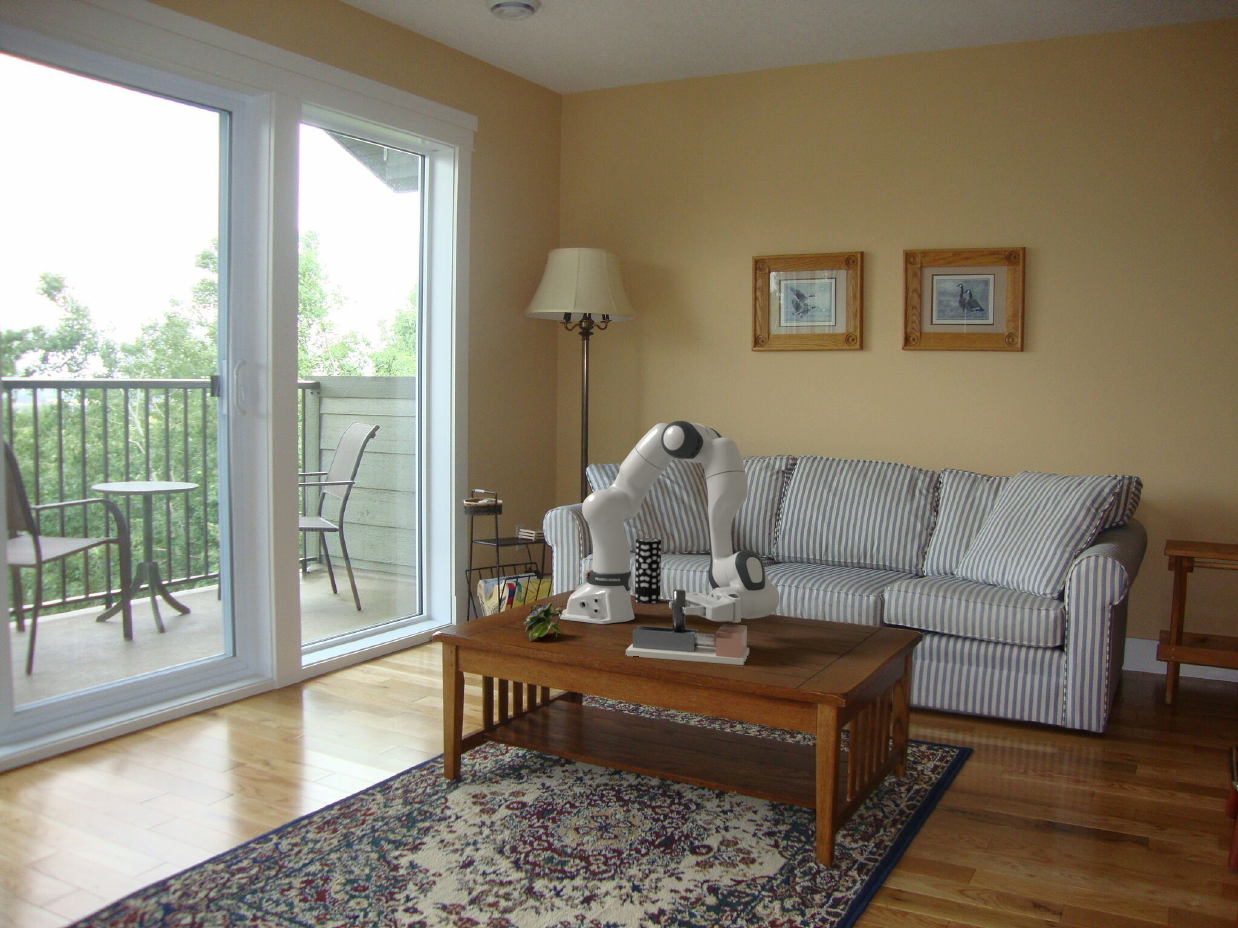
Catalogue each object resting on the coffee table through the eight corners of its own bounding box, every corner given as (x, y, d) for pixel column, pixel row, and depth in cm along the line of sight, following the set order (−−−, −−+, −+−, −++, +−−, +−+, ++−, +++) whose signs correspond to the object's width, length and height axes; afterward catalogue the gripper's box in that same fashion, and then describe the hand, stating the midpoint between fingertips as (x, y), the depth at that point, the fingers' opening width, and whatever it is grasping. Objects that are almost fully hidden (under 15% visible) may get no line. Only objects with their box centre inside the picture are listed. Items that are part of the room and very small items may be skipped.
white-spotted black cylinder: (642, 604, 322) (643, 542, 320) (630, 599, 329) (631, 538, 328) (665, 602, 326) (666, 540, 324) (652, 597, 333) (653, 537, 332)
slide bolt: (669, 645, 259) (670, 591, 258) (672, 642, 262) (673, 588, 261) (731, 649, 255) (733, 595, 254) (733, 646, 258) (734, 592, 257)
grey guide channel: (632, 647, 260) (632, 629, 260) (637, 642, 265) (637, 625, 265) (693, 652, 256) (694, 634, 256) (697, 646, 261) (697, 629, 261)
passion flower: (535, 654, 279) (543, 614, 285) (568, 651, 274) (575, 611, 280) (512, 637, 271) (521, 597, 277) (546, 635, 266) (554, 593, 272)
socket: (715, 655, 252) (716, 632, 252) (721, 646, 262) (722, 623, 262) (741, 657, 251) (741, 634, 250) (746, 648, 261) (746, 625, 260)
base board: (625, 655, 257) (625, 650, 257) (636, 644, 269) (636, 639, 269) (743, 665, 250) (743, 659, 250) (749, 653, 261) (749, 647, 261)
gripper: (703, 585, 274) (658, 588, 268) (744, 599, 255) (696, 603, 249) (702, 608, 274) (657, 612, 268) (743, 623, 256) (696, 628, 250)
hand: (677, 608), depth 259 cm, fingers open, 6 cm apart
